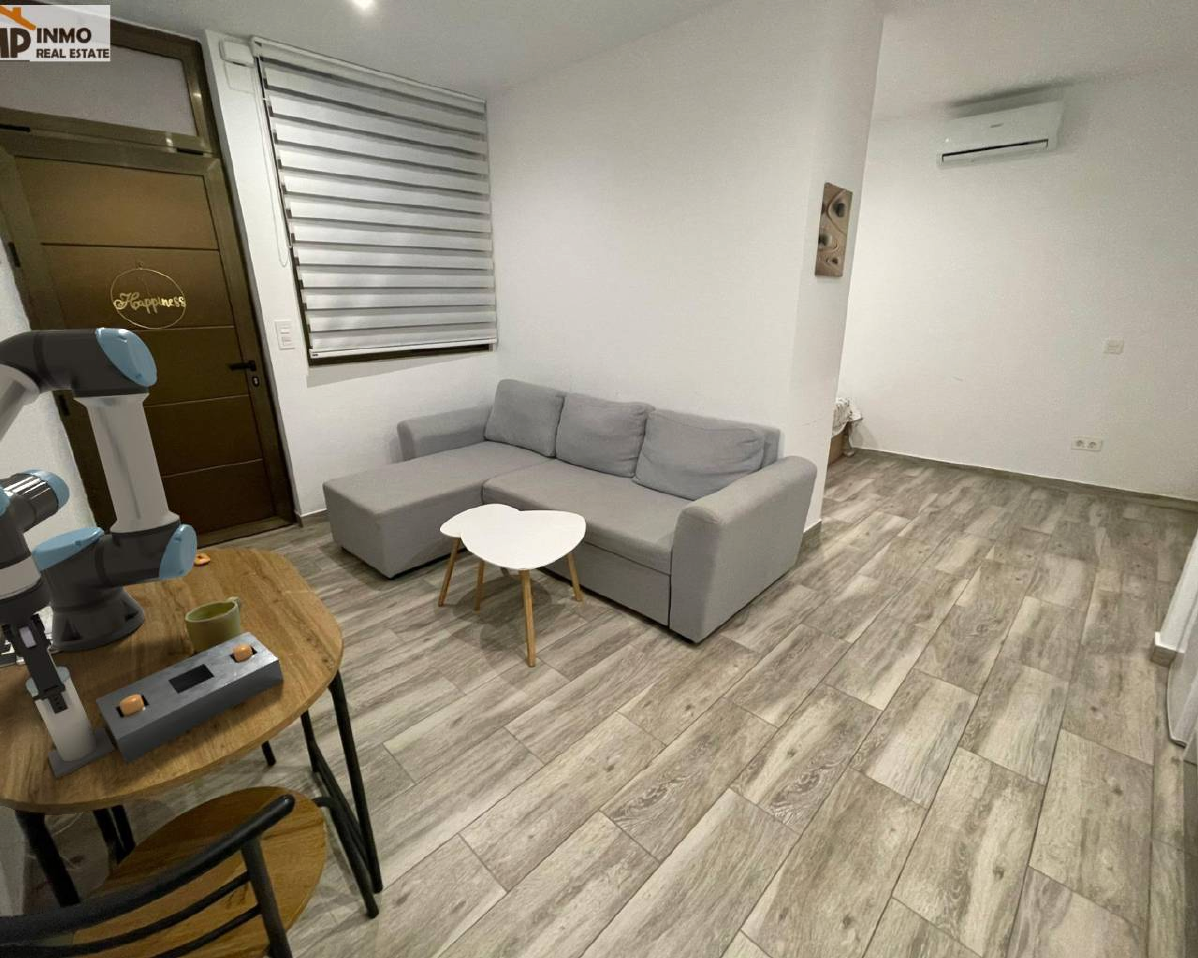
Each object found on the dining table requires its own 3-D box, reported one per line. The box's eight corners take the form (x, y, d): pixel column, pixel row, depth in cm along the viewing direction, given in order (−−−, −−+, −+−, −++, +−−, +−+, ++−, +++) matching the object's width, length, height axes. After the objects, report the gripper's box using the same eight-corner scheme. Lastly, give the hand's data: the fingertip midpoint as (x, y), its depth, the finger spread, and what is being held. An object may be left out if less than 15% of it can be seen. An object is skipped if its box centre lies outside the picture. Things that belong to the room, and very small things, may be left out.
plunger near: (128, 727, 91) (117, 701, 89) (148, 717, 93) (138, 692, 91) (132, 735, 89) (121, 709, 87) (153, 725, 91) (142, 699, 89)
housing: (105, 721, 93) (95, 699, 91) (254, 651, 110) (248, 631, 109) (126, 763, 84) (116, 739, 83) (283, 679, 102) (278, 659, 100)
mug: (218, 656, 106) (202, 610, 105) (183, 662, 109) (167, 617, 108) (270, 630, 118) (256, 588, 117) (237, 637, 120) (223, 596, 120)
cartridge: (58, 751, 86) (23, 678, 81) (95, 734, 89) (64, 662, 84) (64, 766, 83) (28, 692, 78) (102, 747, 87) (70, 675, 81)
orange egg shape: (238, 673, 103) (230, 649, 101) (253, 666, 105) (247, 642, 103) (243, 679, 102) (236, 655, 100) (259, 671, 104) (252, 647, 102)
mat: (48, 755, 86) (47, 753, 86) (104, 729, 91) (103, 726, 91) (56, 779, 82) (55, 776, 82) (114, 749, 87) (113, 746, 87)
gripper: (-42, 572, 80) (13, 683, 87) (-25, 634, 65) (39, 761, 73) (28, 553, 85) (74, 659, 93) (58, 607, 71) (109, 727, 78)
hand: (59, 704), depth 83 cm, fingers open, 13 cm apart
